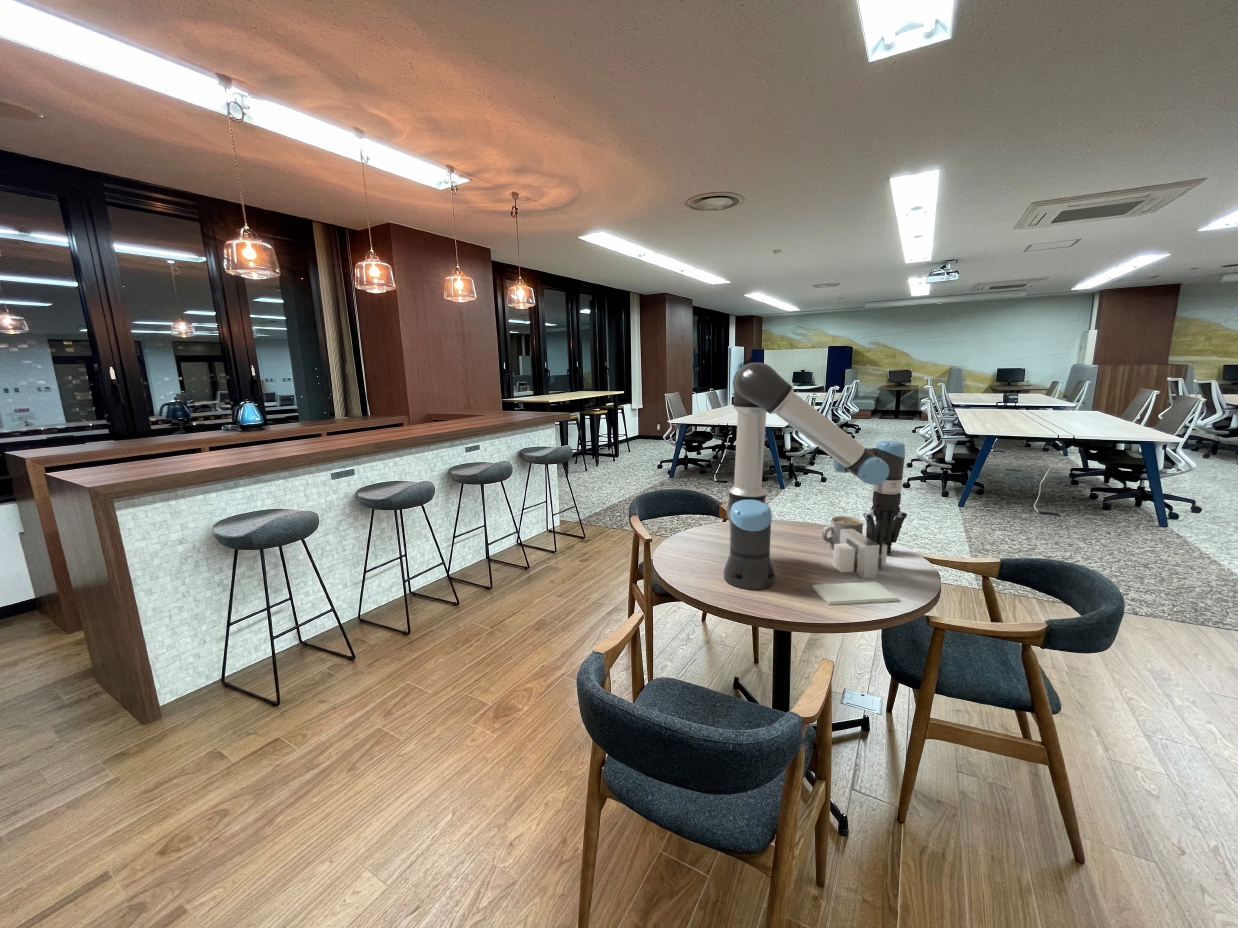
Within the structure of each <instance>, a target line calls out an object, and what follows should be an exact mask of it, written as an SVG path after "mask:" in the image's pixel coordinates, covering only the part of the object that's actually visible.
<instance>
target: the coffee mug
mask: <svg viewBox="0 0 1238 928" xmlns="http://www.w3.org/2000/svg"><path fill="white" fill-rule="evenodd" d="M863 526H864V521H863V520H862V519H860V518H858V517H853V516H845V515H844V516H843V515H838V516H834V517H832V518H831V523H830V525H826V526H824V527H823V528H822V531H821V536H822V539H823V541H825V542H826V543H829V547H830V548H831V549H833V550H834V544H840V531H841V529H854V530H856V531H857V532H859V533H861V534H862V535H863ZM829 531H830V536H829V537H828V533H829ZM858 548H859V545H858Z"/></svg>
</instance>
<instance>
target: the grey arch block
mask: <svg viewBox="0 0 1238 928" xmlns="http://www.w3.org/2000/svg"><path fill="white" fill-rule="evenodd" d="M842 543H847V544H848V545H850V546H851V547H853V548H854V549H855V557H858V562H857V570H856V574H858V575H859V576H860V577H861V579H865V580H866V579H877V578H878V570H879V569H878V558H879V546H880V545H879V544H877V543H875V542H874V541H872V540H870V539H869V538H867V537H866V535H864V534H863V533H862V534H861V533H859V532H857V531H856V530H854V529H841V531H840V544H842ZM858 545H859V548H858Z"/></svg>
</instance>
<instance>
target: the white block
mask: <svg viewBox="0 0 1238 928" xmlns="http://www.w3.org/2000/svg"><path fill="white" fill-rule="evenodd" d="M832 559H833V560H832V567H834V568H835V569H836V570H838V571H839V572H840V573H854V571H857V562H858V556H857V557H855V549H854V548H853V547H851V546H850V545H848V544H847V543H842V544H834V549H833V558H832ZM882 566H883V565H882V560H881V559H880V558H878V570H882Z"/></svg>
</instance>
